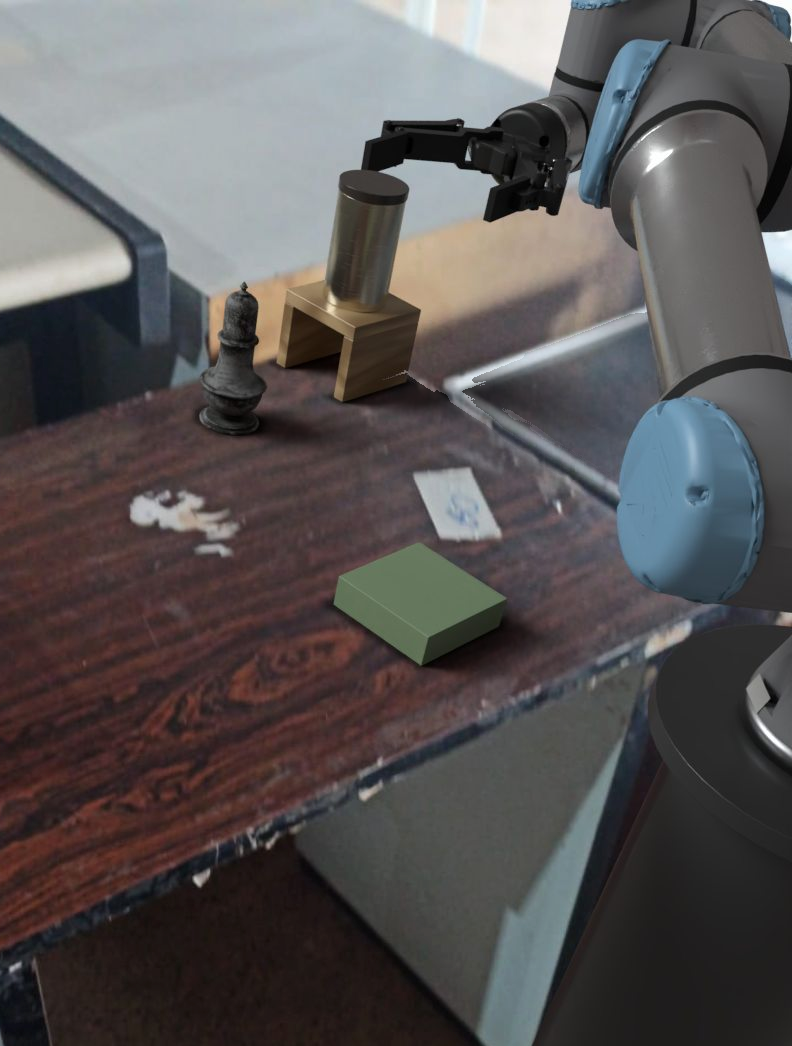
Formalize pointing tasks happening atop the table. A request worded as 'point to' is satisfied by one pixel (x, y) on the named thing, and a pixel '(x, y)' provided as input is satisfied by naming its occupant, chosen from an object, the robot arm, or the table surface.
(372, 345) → the wooden arch stand
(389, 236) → the tin
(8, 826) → the table surface
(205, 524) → the table surface
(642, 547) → the robot arm
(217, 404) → the salt shaker
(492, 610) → the green flat square block
